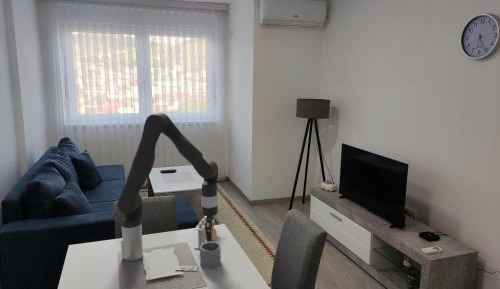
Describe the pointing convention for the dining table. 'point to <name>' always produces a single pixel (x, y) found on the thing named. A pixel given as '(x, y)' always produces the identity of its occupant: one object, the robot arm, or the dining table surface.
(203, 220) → the test tube rack
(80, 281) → the dining table surface
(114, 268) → the dining table surface
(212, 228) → the ball
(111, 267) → the dining table surface
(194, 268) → the card
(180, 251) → the dining table surface
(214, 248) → the tube
